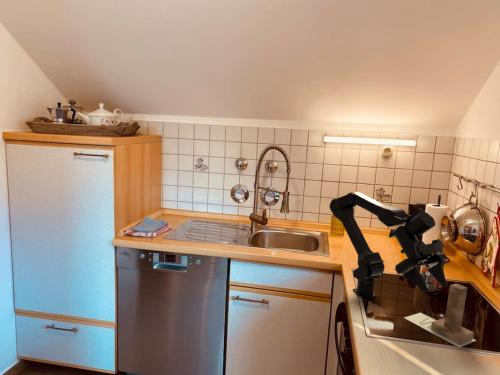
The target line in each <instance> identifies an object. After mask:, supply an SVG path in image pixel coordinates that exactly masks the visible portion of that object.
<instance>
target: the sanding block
mask: <svg viewBox="0 0 500 375" xmlns="http://www.w3.org/2000/svg"><path fill="white" fill-rule="evenodd" d="M467 292H468V287H466V286H464V285H461V284H459V283H454V284H449V290H448V297H447V303H446V310H445V316H444V318H441V319H439V318H438V319H435V320H436V321H433V322H432V325H431V330H432V331H434V332H436V333H438V334H440V335H441V336H443V337H445V338H447V339H449V340H451V341H453V342H455V343H457V344H458V345H462V344H465V343H467V342H470V341H472V339H474V338H473V337H474V332H473V331H472V330H470V329H467V328H465V327H464V326H462V324H463V317H464V311H465V304H466V299H467Z"/></svg>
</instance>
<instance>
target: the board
mask: <svg viewBox="0 0 500 375" xmlns="http://www.w3.org/2000/svg"><path fill="white" fill-rule="evenodd" d="M404 319H406V320H407V321H409V322H411V323H413V324H415V325H417V326H418V327H420V328H422V329H424V330H425V331H427V332H429V333H431V334H433V335H435V336H437V337H438V338H440V339H442V340H445V341H447V342H448V343H450V344H452V345H454V346H456V347H458V348H461V347H464V346H466V345H469V344H471V343H473V342H476V341H477V340H476V339H474V338H472V341H470V342H467V343H465V344H462V345H458V344H457V343H455V342H453V341H451V340H449V339H447V338H445V337H443V336H441V335H440V334H438V333H436V332H434V331H432V330H431V325H432V322H433V321H436V320H437V319H434V318H432V317H430V316H428V315H426V314H424V313H422V312H418V313H415V314H411V315H409V316H404Z"/></svg>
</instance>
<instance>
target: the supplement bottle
mask: <svg viewBox="0 0 500 375" xmlns="http://www.w3.org/2000/svg"><path fill="white" fill-rule="evenodd" d="M428 269H429V268H427V267H426V266H425V265H424V266H421V271H420V273H421V275H422V277H423V279H424V281H425V283H426V285H427V288H428V291H427V292H430V293H433V292H436V291H437V287H438V281H437V280H436V279H435V278H434V277H433V275H432V274H431V273H430V272H429V271H428Z"/></svg>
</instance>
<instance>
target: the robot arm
mask: <svg viewBox="0 0 500 375" xmlns="http://www.w3.org/2000/svg"><path fill="white" fill-rule="evenodd" d="M356 206H358V207H360V208H361V209H364V210H366V211H367V212H369V213H371V214H373V215H374V216H376V217H377V219H378V221H380V222H381V223H382V224H383V225H384V226H386V227H388V228H391V229H390V231H389V234H388V238H390V239H391V238H395V239H396V241H397V242H398V244H399V246H400V247H401V249H400V253H401V254H404V255H405V256H406V258H405V259H403V260H401V261H400V262H398V263H397V264H395V267H394V270H395V272H396V274H397V275H398V276H399V275H401V277H404V278H405V279H407V280H408V281H410V282H411V283H413V284H414V285H415V286H417V287H418V288H419V289H420V290H422V291H423V292H425V293H427V292H429V291H428V288H427V285H426V283H425V281H424V279H423V277H422V275H421V271H422V267H423V266H424V265H425V266H426V267H427V268H429V269H428V271H429V272H430V273H431V274H432V275H433V277H434V278H435V279H436V280H437V283H439V284H440V285H441V286H442V287H443V288H446V287H447V286H448V284H447V283H448V282H447V280H446V275H445V270H444V267H445V264H446V263H447V261H448V257H447V256H446V253H444V248H445V244H444V243H443V242H442V240H441V239H440V238H439V239H433V240H431V243H427V244H426V243H425V242H424V241H423V240H419V238H418V237H419V236H420V237H421V236H422V235H424V234H426V233H427V232H429V231H430V230H431V229H433V228H435V226H436V221H435V218H434V217H433V216H431V215H430V214H429V213H428V212H426V211H425V210H424V208H418V209H416V210H415V211H414V212H413V213H412V214H408V213H407V212H406V210H404V209H402V208H400V207H396V206H391V205H385V204H383V203H381V202H379V201H378V200H375V199H373V198H371V197H370V196H367V195H365V194H363V193H362V192H360V191H350V192H349V193H347V194H345V195H342V196H339V197H338V198H333V199H331V201H330V203H329V207H328V208H329V209H330V212H331V213H332V214H333V217H335V218H336V219H337V220H338V221H340V222H341V224H342V226H343V227H344V229H345V233H346V234H347V237H348V238H349V241H350V242H351V245H352V246H353V248H354V251H355V252H356V254H357V266H358V267H356V268H355V269H354V270H352V275H353V278H355V279H357V282H356V288H352V291H353V292H355V294H356V293H357V294H358V295H357V294H356V295H357V296H359V298H377V296H378V295H377V294H376V293H375V292H374V291H375V279H379V278H380V277H381V276H382V275H383V274H384V271H385V264H384V263H385V261H384V260H383V258H382V257H381V254H380V253H379V251H377V252H376V251H375V252H374V251H373V250H371V248H370V246H369V244H368V242H367V240H366V238H365V236H364V234H363V232H362V230H361V228H360V226H359V225H358V222H357V220H356V219H355V216H354V215H355V214H354V213H355V207H356ZM392 227H396V228H392Z"/></svg>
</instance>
